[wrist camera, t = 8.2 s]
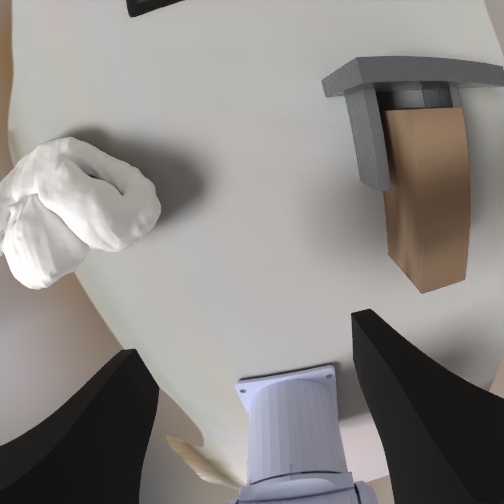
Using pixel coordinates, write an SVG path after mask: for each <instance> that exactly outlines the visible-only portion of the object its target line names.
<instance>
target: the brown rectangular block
mask: <svg viewBox="0 0 504 504" xmlns="http://www.w3.org/2000/svg"><path fill="white" fill-rule="evenodd" d="M379 112H380V118H381V123H382V129H383V134H384V140H385V147H386V154H387V161H388V168H389V177H390V186H391V190H388V191H383V192H384V202H385V212H386V224H387V238H388V255H389V256H390V257H391V258H392V259H393V261H394V262H395V263H396V264H397V265H398V266H399V267H400V269H401V270H402V271H403V272H404V273H405V274H406V276H407V277H408V278H409V279H410V280H411V282H412V283H413V284H414V285H415V286H416V288H417V289H418V290H419V291H420V293H421V294H423V293H426V292H429V291H432V290H436V289H439V288H442V287H445V286H448V285H451V284H454V283H457V282H460V281H463V280H465V276H466V267H467V257H468V245H469V227H470V179H469V161H468V149H467V139H466V130H465V123H464V116H463V109H462V108H449V107H439V108H408V109H395V110H384V111H379Z"/></svg>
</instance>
